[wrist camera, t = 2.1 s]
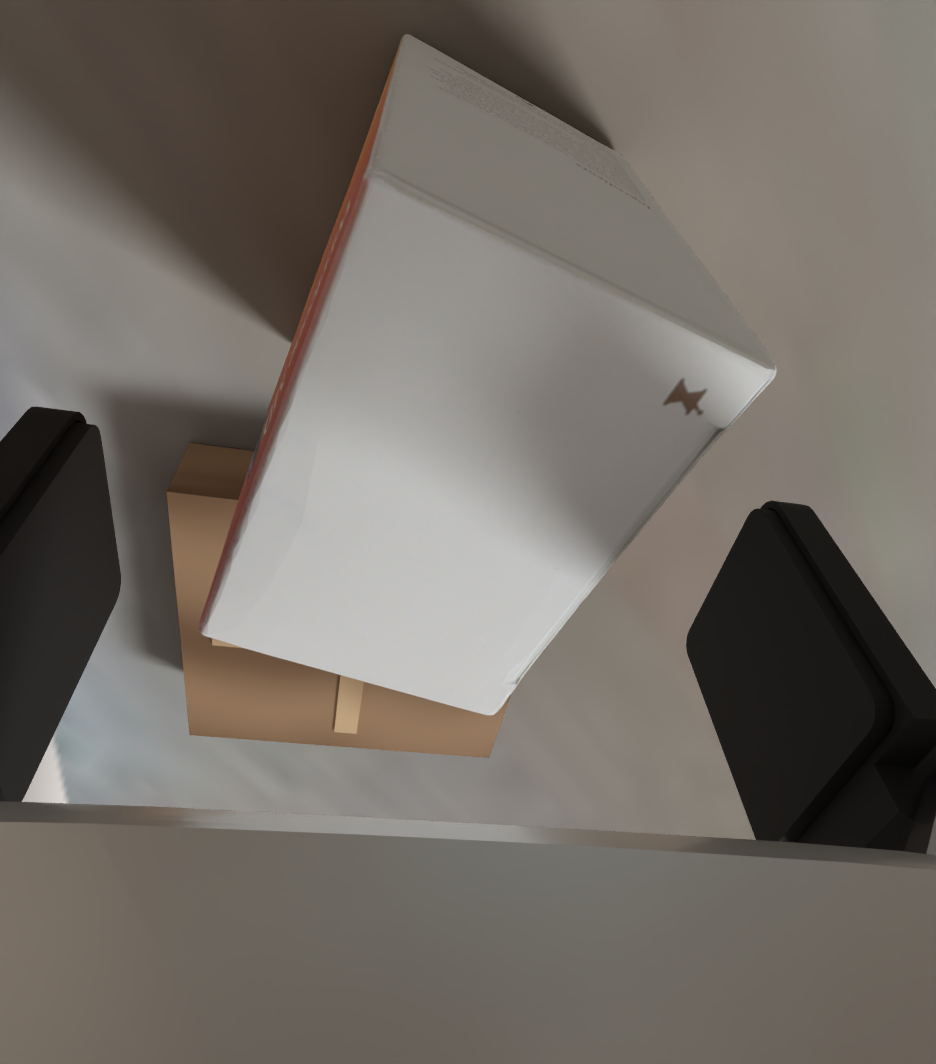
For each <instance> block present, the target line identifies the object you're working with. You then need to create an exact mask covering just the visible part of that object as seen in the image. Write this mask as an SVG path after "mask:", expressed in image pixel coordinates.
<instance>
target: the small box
mask: <svg viewBox="0 0 936 1064" xmlns="http://www.w3.org/2000/svg"><path fill="white" fill-rule="evenodd" d="M775 375H776V366H775V363H774V362H773V360H772V358H771V357H770V355H769V353H768V352H767V350H766V349H765V348H764V346H763V345H762V344H761V342H760V341H759V339H758V338H757V336H756V335H755V334H754V332H753V331H752V330H751V329H750V327H749V326H748V325H747V323H746V322H745V320H744V319H743V318H742V316H741V315H740V313H739V312H738V311H737V309H736V308H735V307H734V305H733V304H732V302H731V301H730V299H729V298H728V297H727V295H726V294H725V293H724V291H723V290H722V289H721V287H720V286H719V285H718V283H717V282H716V281H715V279H714V278H713V277H712V276H711V274H710V273H709V272H708V271H707V269H706V268H705V267H704V265H703V264H702V263H701V261H700V260H699V259H698V257H697V256H696V255H695V254H694V252H693V251H692V250H691V248H690V247H689V245H688V244H687V243H686V241H685V240H684V239H683V238H682V236H681V235H680V234H679V232H678V231H677V230H676V228H675V227H674V226H673V224H672V223H671V222H670V220H669V219H668V218H667V216H666V215H665V214H664V212H663V211H662V209H661V208H660V206H659V205H658V204H657V202H656V201H655V199H654V198H653V196H652V195H651V194H650V192H649V191H648V190H647V188H646V187H645V186H644V184H643V183H642V182H641V180H640V179H639V177H638V176H637V174H636V173H635V172H634V170H633V169H632V168H631V166H630V164H629V163H628V162H627V160H626V159H625V158H624V157H623V156H622V154H620V153H618V152H616V151H614V150H612V149H610V148H608V147H607V146H605V145H603V144H601V143H599V142H597V141H596V140H594V139H592V138H591V137H589V136H587V135H585V134H584V133H582V132H580V131H578V130H577V129H575V128H573V127H572V126H570V125H568V124H566V123H565V122H563V121H561V120H559V119H558V118H556V117H554V116H552V115H551V114H549V113H547V112H545V111H544V110H542V109H540V108H538V107H537V106H535V105H533V104H531V103H530V102H528V101H526V100H524V99H523V98H521V97H519V96H517V95H515V94H514V93H512V92H510V91H508V90H507V89H505V88H503V87H501V86H500V85H498V84H496V83H494V82H493V81H491V80H489V79H487V78H486V77H484V76H482V75H480V74H479V73H477V72H475V71H473V70H472V69H470V68H468V67H466V66H465V65H463V64H461V63H459V62H458V61H456V60H454V59H452V58H451V57H449V56H447V55H445V54H443V53H442V52H440V51H438V50H436V49H435V48H433V47H431V46H429V45H428V44H426V43H424V42H422V41H420V40H419V39H417V38H415V37H413V36H411V35H409V34H406V35H404V36H402V39H401V41H400V44H399V47H398V50H397V53H396V56H395V59H394V62H393V64H392V67H391V70H390V73H389V76H388V78H387V81H386V84H385V87H384V90H383V93H382V95H381V98H380V101H379V104H378V107H377V109H376V112H375V115H374V118H373V121H372V123H371V126H370V129H369V132H368V135H367V137H366V140H365V143H364V146H363V149H362V152H361V154H360V157H359V160H358V163H357V165H356V168H355V171H354V174H353V177H352V179H351V182H350V185H349V188H348V190H347V193H346V196H345V198H344V201H343V204H342V206H341V209H340V212H339V214H338V217H337V219H336V222H335V225H334V227H333V230H332V233H331V235H330V238H329V241H328V243H327V246H326V248H325V251H324V254H323V257H322V259H321V262H320V265H319V268H318V271H317V273H316V276H315V279H314V282H313V285H312V287H311V290H310V293H309V296H308V299H307V302H306V305H305V308H304V310H303V313H302V316H301V319H300V322H299V325H298V327H297V330H296V333H295V336H294V339H293V341H292V344H291V347H290V350H289V353H288V355H287V358H286V361H285V364H284V366H283V369H282V372H281V375H280V378H279V380H278V383H277V386H276V389H275V392H274V394H273V397H272V400H271V403H270V405H269V408H268V411H267V414H266V417H265V421H264V424H263V427H262V430H261V433H260V436H259V439H258V442H257V445H256V448H255V451H254V454H253V457H252V460H251V463H250V466H249V469H248V472H247V475H246V478H245V481H244V485H243V488H242V491H241V494H240V497H239V500H238V503H237V506H236V509H235V512H234V515H233V518H232V521H231V525H230V528H229V531H228V534H227V537H226V541H225V544H224V547H223V550H222V553H221V556H220V560H219V563H218V566H217V569H216V572H215V576H214V579H213V582H212V585H211V588H210V591H209V594H208V597H207V600H206V604H205V607H204V610H203V613H202V616H201V619H200V623H199V627H198V631H199V632H200V633H201V634H202V635H203V636H207V637H210V638H213V639H217V640H220V641H223V642H227V643H230V644H233V645H236V646H239V647H242V648H246V649H249V650H253V651H256V652H260V653H263V654H267V655H270V656H274V657H277V658H281V659H285V660H288V661H292V662H296V663H299V664H303V665H307V666H310V667H314V668H317V669H321V670H324V671H328V672H331V673H335V674H338V675H342V676H346V677H349V678H353V679H357V680H360V681H364V682H367V683H371V684H375V685H378V686H382V687H385V688H389V689H393V690H396V691H400V692H403V693H407V694H411V695H414V696H418V697H422V698H425V699H429V700H432V701H436V702H440V703H443V704H447V705H450V706H454V707H458V708H461V709H465V710H469V711H473V712H476V713H480V714H484V715H494V714H495V713H497V712H498V711H499V710H500V708H501V707H502V706H503V704H504V703H505V701H506V700H507V698H508V697H509V696H510V694H511V693H512V692H513V690H514V689H515V688H516V686H517V685H518V683H519V682H520V680H521V679H522V677H523V676H524V675H525V673H526V672H527V671H528V669H529V668H530V667H531V665H532V664H533V663H534V662H535V660H536V659H537V658H538V657H539V655H540V654H541V653H542V651H543V650H544V649H545V648H546V647H547V645H548V644H549V643H550V642H551V640H552V639H553V638H554V637H555V635H556V634H557V633H558V632H559V630H560V629H561V628H562V627H563V625H564V624H565V623H566V621H567V620H568V619H569V618H570V616H571V615H572V614H573V613H574V612H575V610H576V609H577V608H578V606H579V605H580V603H581V602H582V601H583V600H584V599H585V598H586V597H587V596H588V595H589V593H590V592H591V591H592V590H593V588H594V587H595V586H596V585H597V583H598V582H599V581H600V580H601V578H602V577H603V576H604V575H605V574H606V572H607V571H608V570H609V569H610V567H611V566H612V565H613V564H614V562H615V561H616V560H617V559H618V557H619V556H620V555H621V553H622V552H623V551H624V550H625V549H626V548H627V546H628V545H629V544H630V543H631V542H632V540H633V539H634V538H635V537H636V536H637V534H638V533H639V532H640V531H641V529H642V528H643V527H644V526H645V524H646V523H647V522H648V521H649V520H650V518H651V517H652V516H653V515H654V514H655V512H656V511H657V510H658V509H659V508H660V507H661V505H662V504H663V503H664V502H665V501H666V499H667V498H668V497H669V496H670V494H671V493H672V492H673V491H674V489H675V488H676V487H677V486H678V485H679V484H680V482H681V481H682V480H683V479H684V478H685V476H686V475H687V474H688V473H689V472H690V471H691V469H692V468H693V467H694V466H695V465H696V464H697V462H698V461H699V460H700V459H701V458H702V457H703V456H704V454H705V453H706V452H707V451H708V450H709V449H710V447H711V446H712V445H713V444H714V443H715V442H716V441H717V439H718V438H719V437H720V436H721V435H722V434H723V433H724V432H725V431H726V430H727V429H729V428H730V427H731V426H732V424H733V423H734V422H735V421H736V420H737V419H738V418H739V416H740V415H741V414H742V413H743V412H744V411H745V409H746V408H747V407H748V406H749V405H750V404H751V403H752V402H753V401H754V399H755V398H756V397H757V396H758V395H759V394H760V393H761V392H762V391H763V390H764V389H765V388H766V387H767V385H768V384H769V383H770V382H771V381H772V380H773V378H774V377H775Z"/></svg>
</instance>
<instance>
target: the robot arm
mask: <svg viewBox="0 0 936 1064" xmlns="http://www.w3.org/2000/svg"><path fill="white" fill-rule="evenodd" d="M120 585H121V573H120V566H119V559H118V552H117V545H116V538H115V531H114V524H113V517H112V510H111V503H110V496H109V489H108V482H107V475H106V469H105V462H104V455H103V448H102V441H101V435H100V431H99V429H98V427H97V426H96V425H90V424H87V423H86V420H85V418H84V416H83V415H82V414H81V413H80V412H74V411H66V410H58V409H51V408H43V407H31V408H30V409H28V410H27V411H26V412H25V414H24V415H23V416H22V417H21V418H20V419H19V421H18V422H17V423H16V424H15V425H14V426H13V428H12V429H11V430H10V431H9V432H8V433H7V435H6V436H5V437H4V438H3V439H2V440H1V442H0V1064H936V689H935V687H934V686H933V684H932V683H931V681H930V680H929V679H928V677H927V676H926V674H925V673H924V671H923V670H922V668H921V667H920V665H919V664H918V663H917V661H916V660H915V658H914V657H913V655H912V654H911V652H910V651H909V649H908V648H907V647H906V645H905V644H904V642H903V641H902V639H901V638H900V636H899V635H898V633H897V632H896V630H895V629H894V628H893V626H892V625H891V623H890V622H889V620H888V619H887V617H886V616H885V614H884V613H883V612H882V610H881V609H880V607H879V606H878V604H877V603H876V601H875V600H874V598H873V597H872V595H871V594H870V593H869V591H868V590H867V588H866V587H865V585H864V584H863V582H862V581H861V579H860V578H859V577H858V575H857V574H856V572H855V571H854V569H853V568H852V566H851V565H850V563H849V562H848V561H847V559H846V558H845V556H844V555H843V553H842V552H841V550H840V549H839V547H838V546H837V544H836V543H835V542H834V540H833V539H832V537H831V536H830V534H829V533H828V531H827V530H826V528H825V527H824V526H823V524H822V523H821V521H820V520H819V518H818V517H817V515H816V514H815V512H814V511H813V510H812V509H811V508H810V507H809V506H806V505H801V504H793V503H785V502H777V501H769V502H766V503H765V504H764V505H763V506H762V507H761V508H760V509H754V510H753V511H752V512H751V513H750V514H749V516H748V517H747V519H746V521H745V523H744V525H743V527H742V529H741V531H740V533H739V535H738V537H737V539H736V541H735V543H734V544H733V546H732V548H731V550H730V552H729V554H728V556H727V558H726V560H725V562H724V564H723V566H722V568H721V570H720V572H719V574H718V575H717V577H716V579H715V581H714V583H713V585H712V587H711V589H710V591H709V593H708V595H707V597H706V599H705V601H704V603H703V605H702V607H701V608H700V610H699V612H698V614H697V616H696V618H695V620H694V622H693V624H692V626H691V628H690V630H689V632H688V636H687V643H686V647H687V653H688V657H689V659H690V662H691V665H692V668H693V670H694V673H695V676H696V678H697V681H698V684H699V686H700V689H701V692H702V695H703V697H704V700H705V703H706V705H707V708H708V711H709V714H710V716H711V719H712V722H713V724H714V727H715V730H716V733H717V735H718V738H719V741H720V743H721V746H722V749H723V751H724V754H725V757H726V760H727V762H728V765H729V768H730V770H731V773H732V776H733V779H734V781H735V784H736V787H737V789H738V792H739V795H740V797H741V800H742V803H743V806H744V808H745V811H746V814H747V816H748V819H749V822H750V825H751V827H752V830H753V833H754V835H755V838H756V840H746V839H730V838H713V837H697V836H681V835H665V834H648V833H632V832H616V831H599V830H581V829H564V828H546V827H528V826H511V825H493V824H475V823H457V822H439V821H421V820H403V819H385V818H366V817H346V816H327V815H307V814H287V813H268V812H248V811H228V810H209V809H189V808H169V807H148V806H119V805H91V804H63V803H34V802H21V801H22V800H23V798H24V796H25V794H26V792H27V790H28V788H29V785H30V784H31V781H32V779H33V777H34V775H35V773H36V771H37V768H38V766H39V764H40V762H41V760H42V758H43V756H44V754H45V752H46V750H47V747H48V745H49V743H50V741H51V739H52V737H53V735H54V733H55V731H56V728H57V726H58V724H59V722H60V720H61V718H62V716H63V714H64V712H65V709H66V707H67V705H68V703H69V701H70V699H71V697H72V695H73V692H74V690H75V688H76V686H77V684H78V682H79V680H80V678H81V676H82V673H83V671H84V669H85V667H86V665H87V663H88V661H89V659H90V656H91V654H92V652H93V650H94V648H95V646H96V644H97V642H98V640H99V637H100V635H101V633H102V631H103V629H104V627H105V625H106V623H107V620H108V618H109V616H110V614H111V612H112V610H113V608H114V606H115V604H116V601H117V599H118V595H119V592H120Z"/></svg>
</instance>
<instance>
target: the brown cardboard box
mask: <svg viewBox="0 0 936 1064" xmlns="http://www.w3.org/2000/svg"><path fill="white" fill-rule="evenodd" d="M253 454H254V451H250V450H242V449H234V448H227V447H219V446H211V445H203V444H196V443H189V445H188V447H187V449H186V451H185V454H184V456H183V458H182V460H181V462H180V464H179V466H178V468H177V470H176V473H175V475H174V477H173V479H172V481H171V483H170V485H169V487H168V489H167V502H168V513H169V523H170V534H171V545H172V555H173V566H174V576H175V587H176V597H177V608H178V618H179V629H180V639H181V650H182V660H183V671H184V681H185V692H186V702H187V713H188V723H189V734H190V735H197V736H210V737H223V738H236V739H250V740H263V741H276V742H289V743H302V744H315V745H328V746H341V747H354V748H367V749H380V750H394V751H407V752H420V753H433V754H446V755H459V756H472V757H485V758H489V757H490V754H491V751H492V748H493V745H494V742H495V739H496V736H497V733H498V730H499V728H500V725H501V722H502V719H503V716H504V713H505V710H506V707H507V704H508V701H509V698H510V696H511V694H510V696H509V697H508V698H507V700H506V701H505V703H504V704H503V706H502V707H501V708H500V710H499V711H498V712H497V713H495V714H494V715H484V714H480V713H476V712H473V711H469V710H465V709H461V708H458V707H454V706H450V705H447V704H443V703H440V702H436V701H432V700H429V699H425V698H422V697H418V696H414V695H411V694H407V693H403V692H400V691H396V690H393V689H389V688H385V687H382V686H378V685H375V684H371V683H367V682H364V681H360V680H357V679H353V678H349V677H346V676H342V675H338V674H335V673H331V672H328V671H324V670H321V669H317V668H314V667H310V666H307V665H303V664H299V663H296V662H292V661H288V660H285V659H281V658H277V657H274V656H270V655H267V654H263V653H260V652H256V651H253V650H249V649H246V648H242V647H239V646H236V645H233V644H230V643H227V642H223V641H220V640H217V639H213V638H210V637H207V636H203V635H202V634H201V633H200V632H199V631H198V627H199V623H200V619H201V616H202V613H203V610H204V607H205V604H206V600H207V597H208V594H209V591H210V588H211V585H212V582H213V579H214V576H215V572H216V569H217V566H218V563H219V560H220V556H221V553H222V550H223V547H224V544H225V541H226V537H227V534H228V531H229V528H230V525H231V521H232V518H233V515H234V512H235V509H236V506H237V503H238V500H239V497H240V494H241V491H242V488H243V485H244V481H245V478H246V475H247V472H248V469H249V466H250V463H251V460H252V457H253Z"/></svg>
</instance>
